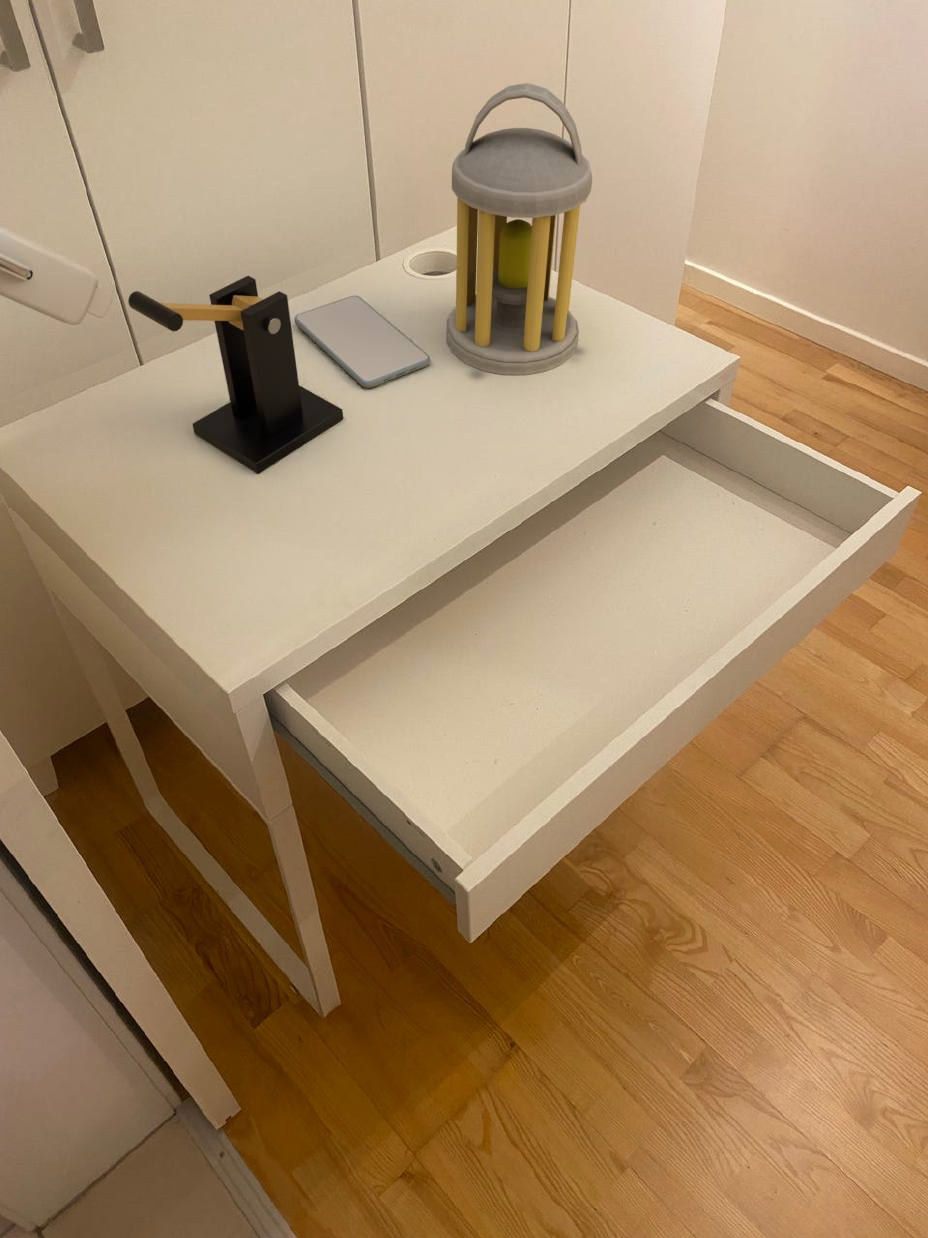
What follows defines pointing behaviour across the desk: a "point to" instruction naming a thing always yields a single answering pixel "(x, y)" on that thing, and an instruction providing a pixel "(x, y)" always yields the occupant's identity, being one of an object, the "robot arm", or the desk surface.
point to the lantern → (516, 242)
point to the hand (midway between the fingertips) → (62, 281)
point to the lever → (190, 310)
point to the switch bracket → (262, 385)
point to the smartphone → (362, 341)
